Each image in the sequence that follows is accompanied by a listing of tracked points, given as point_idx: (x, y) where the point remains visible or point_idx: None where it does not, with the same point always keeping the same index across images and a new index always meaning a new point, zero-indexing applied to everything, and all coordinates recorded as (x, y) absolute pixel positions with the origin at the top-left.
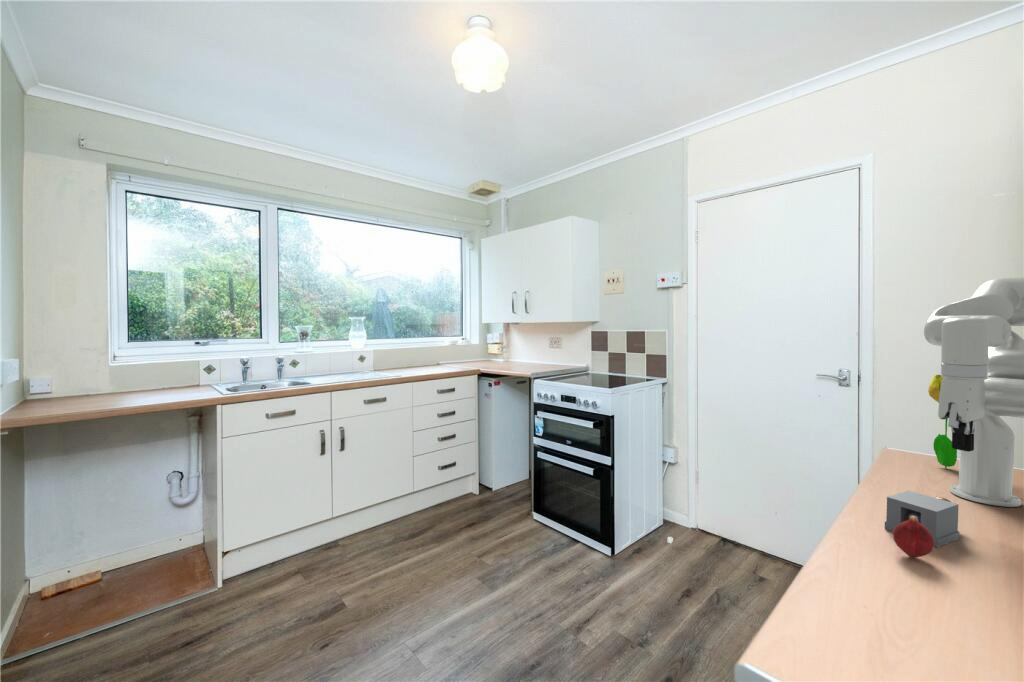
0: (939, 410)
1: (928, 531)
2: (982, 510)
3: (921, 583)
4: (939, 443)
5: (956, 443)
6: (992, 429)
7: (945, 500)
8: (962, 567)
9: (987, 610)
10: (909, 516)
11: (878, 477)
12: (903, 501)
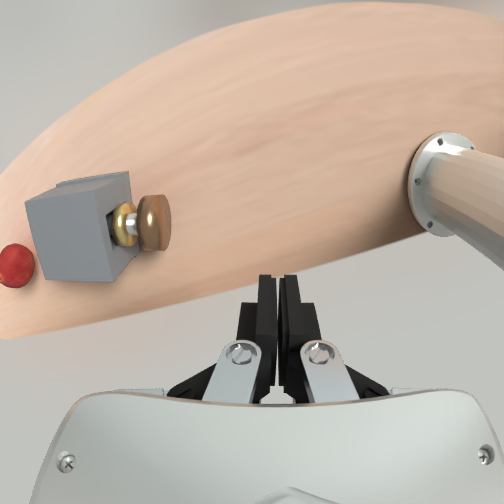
0: (47, 451)
1: (14, 287)
2: (363, 207)
3: None
4: None
5: (241, 312)
6: None
7: (145, 241)
8: (61, 289)
9: (26, 322)
10: None
11: (396, 10)
12: (32, 229)
